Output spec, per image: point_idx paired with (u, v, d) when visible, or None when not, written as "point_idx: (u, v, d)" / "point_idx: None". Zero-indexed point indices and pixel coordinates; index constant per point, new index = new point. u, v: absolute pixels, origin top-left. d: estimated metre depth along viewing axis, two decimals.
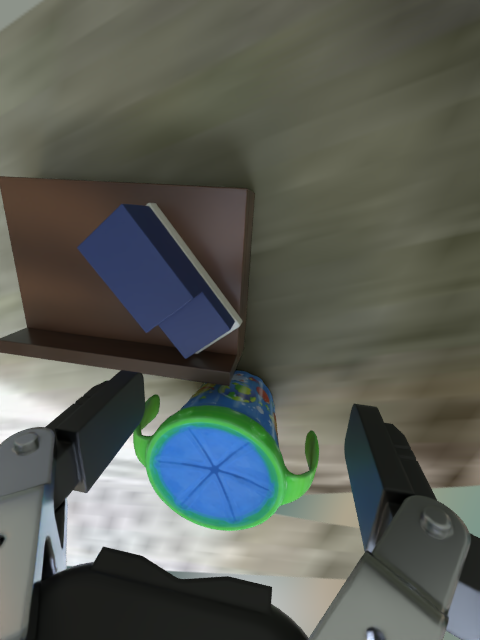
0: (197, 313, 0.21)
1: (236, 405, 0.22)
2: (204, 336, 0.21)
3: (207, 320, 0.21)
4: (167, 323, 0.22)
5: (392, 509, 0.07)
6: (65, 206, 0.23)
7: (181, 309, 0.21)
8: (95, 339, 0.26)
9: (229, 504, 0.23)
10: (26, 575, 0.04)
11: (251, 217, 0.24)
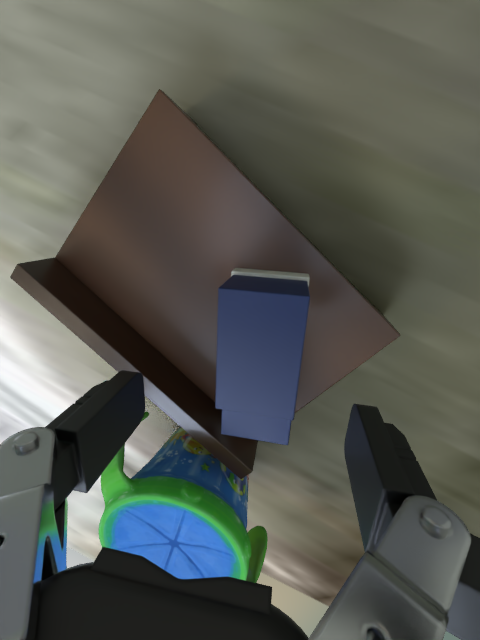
0: None
1: (235, 501, 0.20)
2: (258, 432, 0.19)
3: (274, 424, 0.18)
4: None
5: (392, 509, 0.07)
6: (212, 191, 0.18)
7: None
8: (130, 331, 0.21)
9: None
10: (26, 575, 0.04)
11: None
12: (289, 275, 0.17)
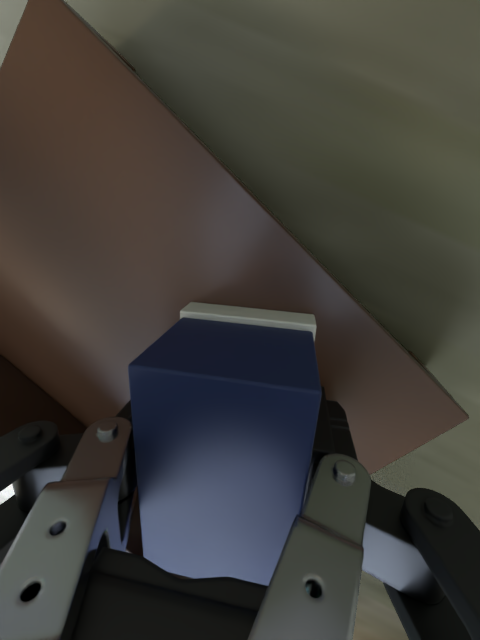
0: None
1: None
2: None
3: None
4: None
5: (316, 466, 0.08)
6: (145, 171, 0.10)
7: None
8: (33, 396, 0.13)
9: None
10: (73, 573, 0.04)
11: None
12: (280, 320, 0.10)
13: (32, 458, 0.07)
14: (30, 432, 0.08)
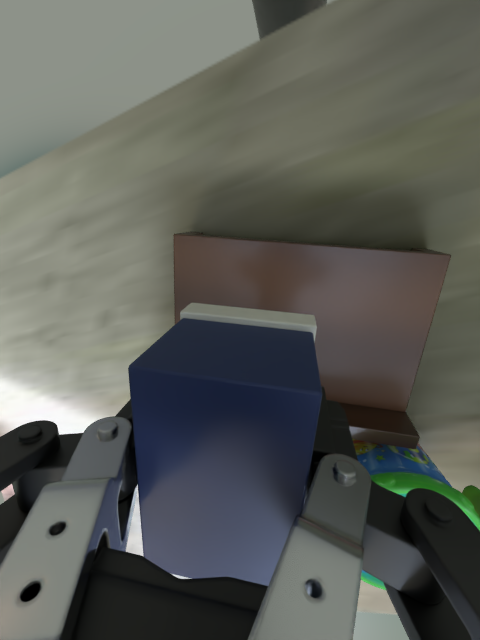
0: None
1: (424, 470, 0.22)
2: None
3: None
4: None
5: (316, 467, 0.08)
6: (243, 265, 0.23)
7: None
8: None
9: None
10: (73, 573, 0.04)
11: None
12: (280, 321, 0.10)
13: (32, 458, 0.07)
14: (29, 432, 0.08)
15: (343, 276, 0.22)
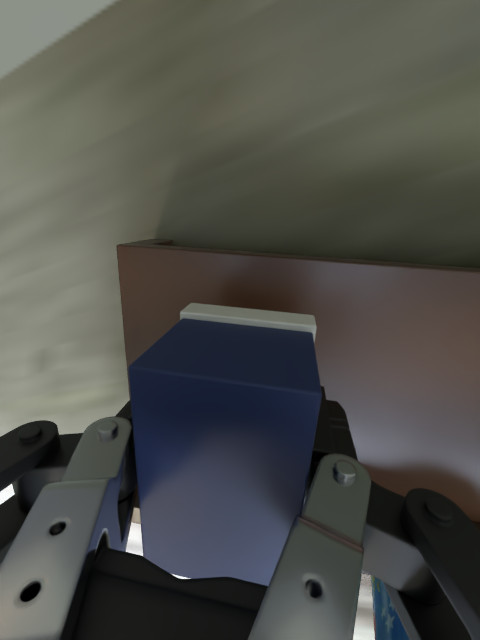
0: None
1: None
2: None
3: None
4: None
5: (316, 467, 0.08)
6: (231, 295, 0.14)
7: None
8: None
9: None
10: (73, 573, 0.04)
11: None
12: (280, 321, 0.10)
13: (32, 458, 0.07)
14: (29, 432, 0.08)
15: (402, 316, 0.13)
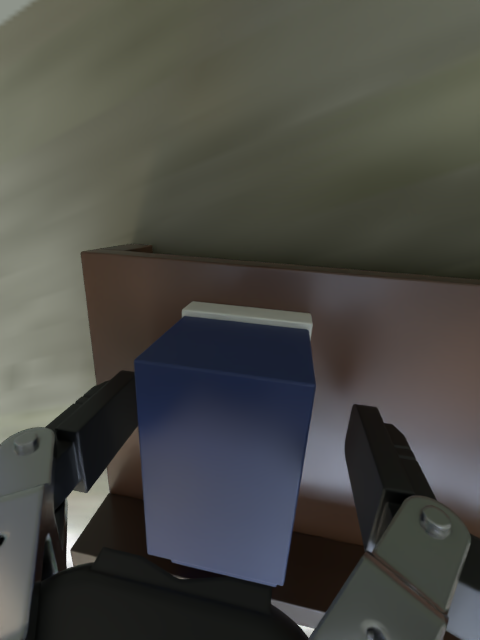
0: None
1: None
2: None
3: None
4: None
5: (392, 509, 0.07)
6: None
7: None
8: None
9: None
10: (26, 575, 0.04)
11: None
12: (278, 318, 0.10)
13: None
14: None
15: (421, 339, 0.11)
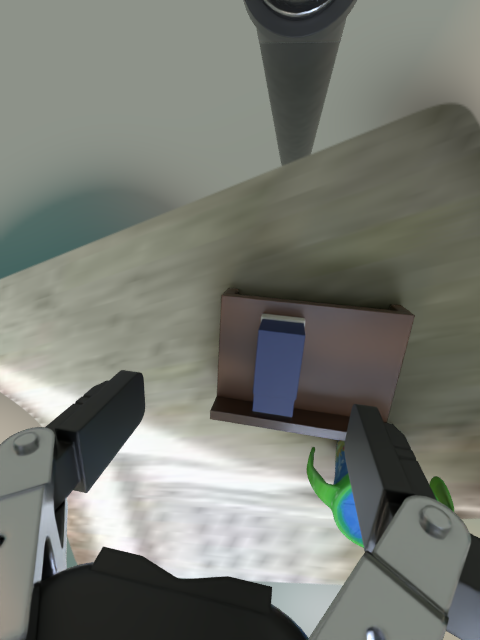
0: (282, 397, 0.32)
1: None
2: (274, 409, 0.32)
3: (284, 404, 0.32)
4: None
5: (392, 509, 0.07)
6: None
7: None
8: None
9: None
10: (26, 575, 0.04)
11: None
12: (294, 319, 0.31)
13: None
14: None
15: (341, 327, 0.31)
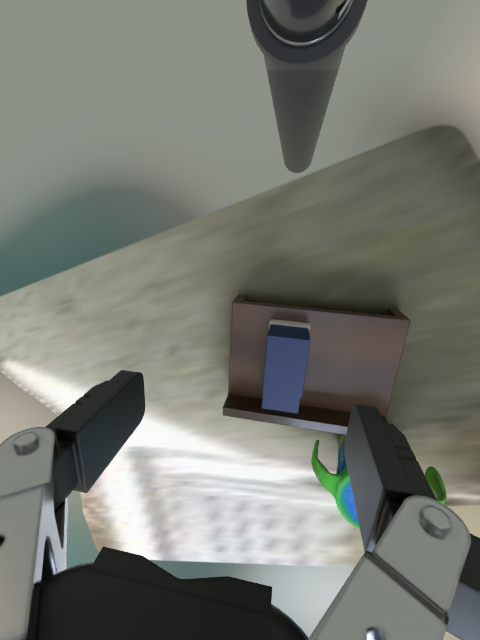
0: (289, 395, 0.35)
1: None
2: (282, 406, 0.35)
3: (291, 402, 0.35)
4: None
5: (392, 509, 0.07)
6: None
7: None
8: None
9: None
10: (26, 575, 0.04)
11: None
12: (299, 325, 0.34)
13: None
14: None
15: (343, 331, 0.34)
